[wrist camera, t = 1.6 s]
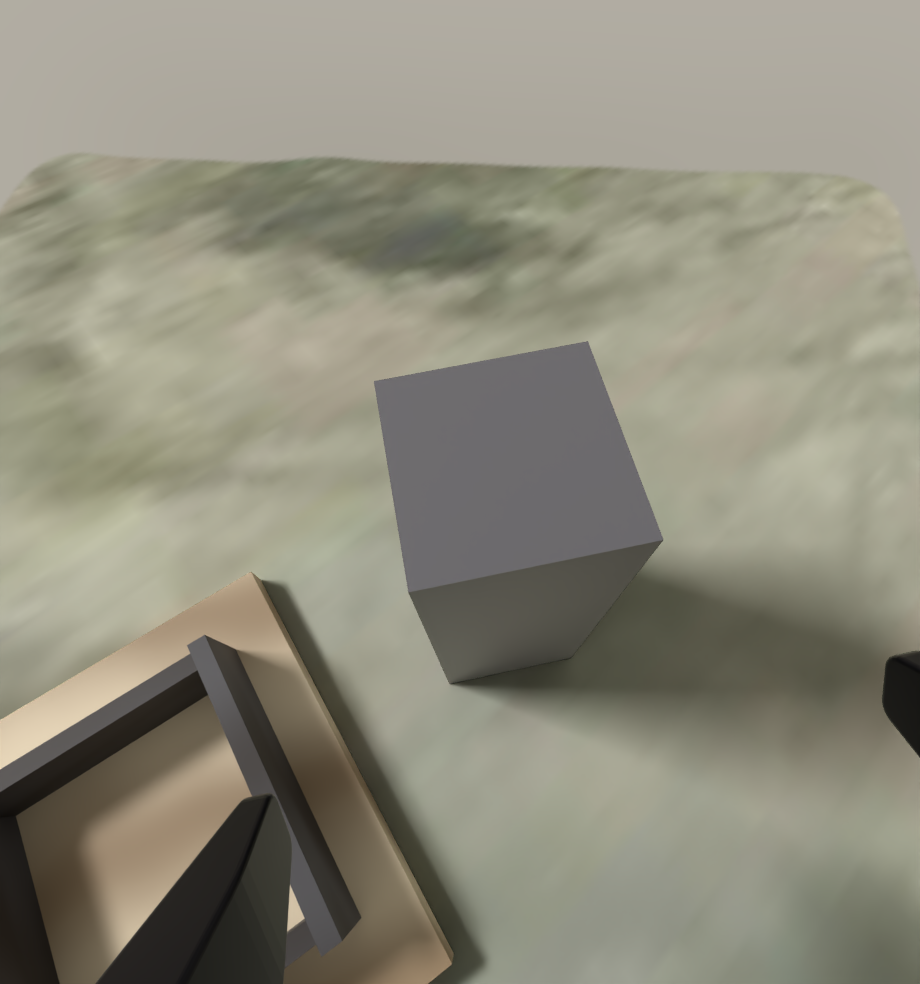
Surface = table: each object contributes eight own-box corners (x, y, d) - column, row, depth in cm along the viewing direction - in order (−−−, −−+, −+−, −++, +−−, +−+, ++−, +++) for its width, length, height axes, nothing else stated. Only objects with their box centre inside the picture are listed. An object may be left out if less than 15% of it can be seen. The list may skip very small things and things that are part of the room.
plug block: (571, 657, 21) (663, 540, 10) (449, 684, 21) (408, 592, 10) (539, 543, 23) (587, 341, 12) (427, 566, 22) (373, 381, 12)
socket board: (453, 953, 17) (446, 996, 14) (62, 1269, 15) (-54, 1407, 12) (260, 579, 22) (223, 548, 19) (-51, 764, 20) (-151, 764, 17)
